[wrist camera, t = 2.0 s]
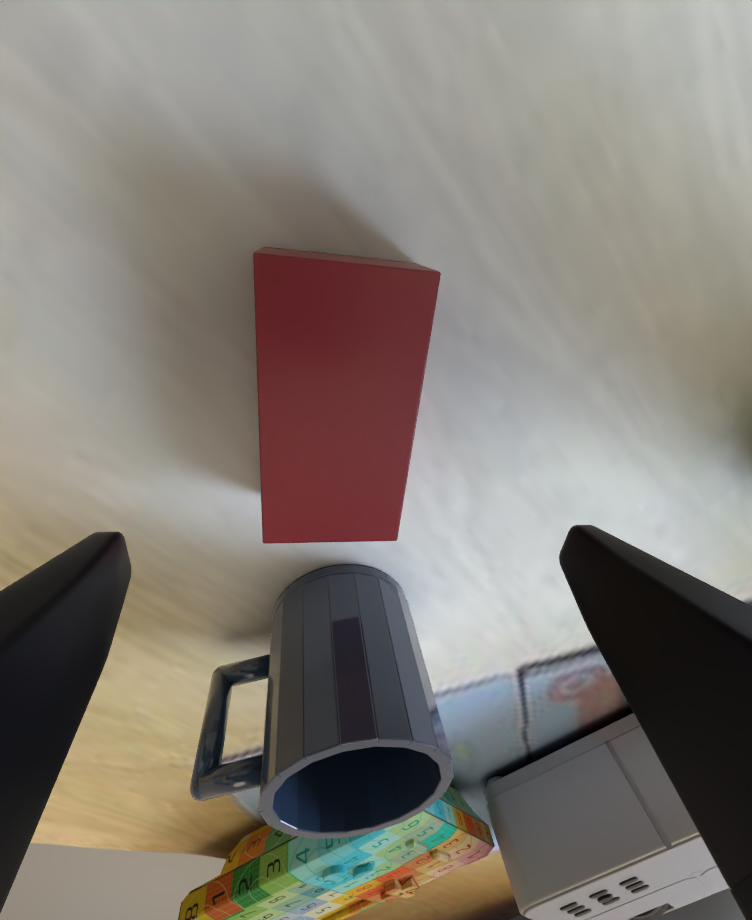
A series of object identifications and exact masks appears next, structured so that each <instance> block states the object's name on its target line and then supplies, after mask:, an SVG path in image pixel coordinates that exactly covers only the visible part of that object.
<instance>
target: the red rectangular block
mask: <svg viewBox="0 0 752 920" xmlns="http://www.w3.org/2000/svg"><path fill="white" fill-rule="evenodd" d="M253 264H254V294H255V324H256V354H257V384H258V414H259V444H260V473H261V503H262V533H263V543H308V542H356V541H396V540H397V537H398V531H399V525H400V519H401V512H402V506H403V500H404V494H405V488H406V482H407V476H408V470H409V464H410V458H411V451H412V445H413V439H414V433H415V427H416V421H417V415H418V409H419V403H420V397H421V390H422V384H423V378H424V372H425V366H426V360H427V354H428V348H429V342H430V336H431V330H432V323H433V317H434V311H435V305H436V299H437V293H438V287H439V281H440V275H441V273H440V272H439V271H436V270H433V269H430V268H427V267H424V266H422V265H419V264H416V263H409V262H400V261H391V260H381V259H372V258H363V257H353V256H344V255H335V254H325V253H316V252H307V251H297V250H288V249H279V248H269V247H263V248H261V249H259V250H258V251H256V252H255V253H254V254H253Z"/></svg>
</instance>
